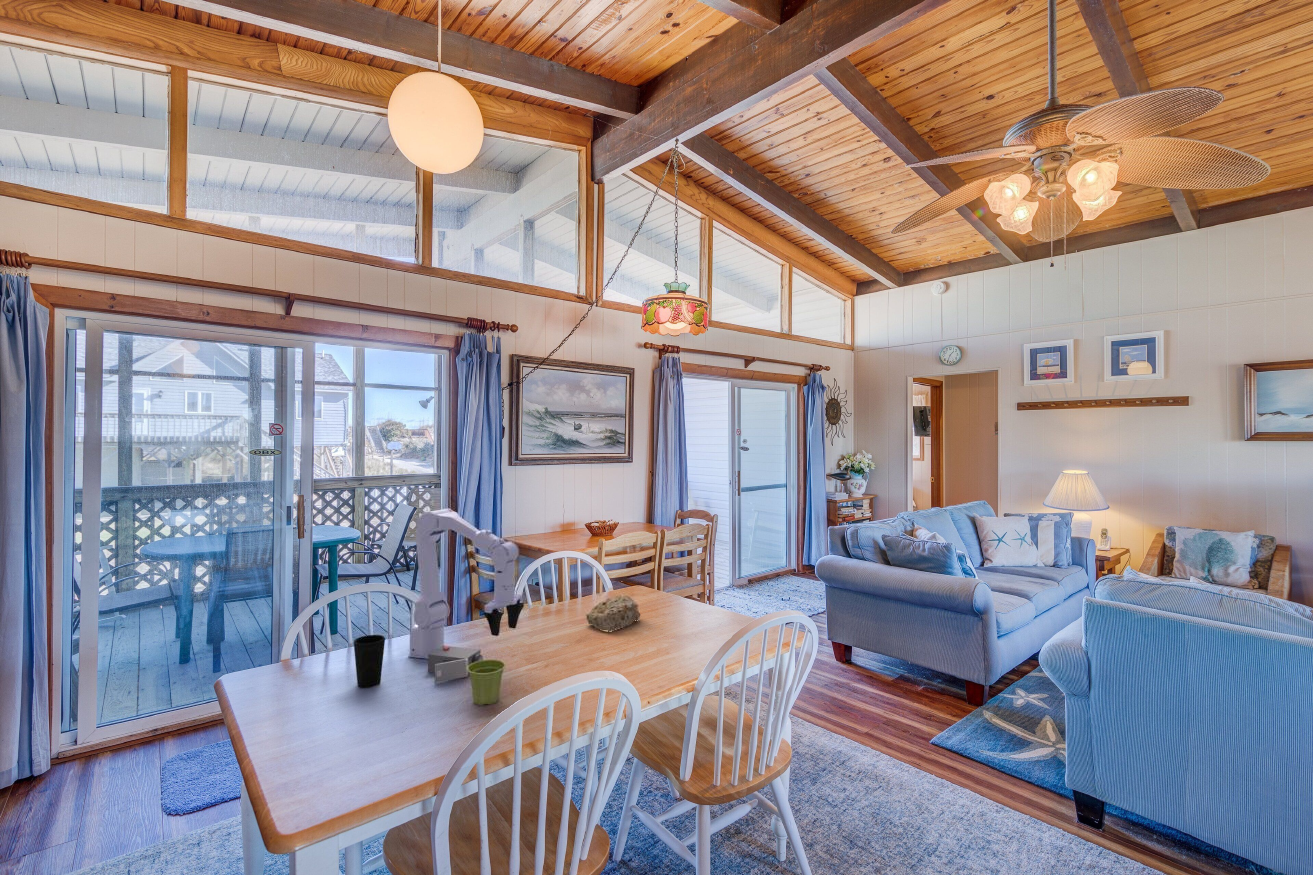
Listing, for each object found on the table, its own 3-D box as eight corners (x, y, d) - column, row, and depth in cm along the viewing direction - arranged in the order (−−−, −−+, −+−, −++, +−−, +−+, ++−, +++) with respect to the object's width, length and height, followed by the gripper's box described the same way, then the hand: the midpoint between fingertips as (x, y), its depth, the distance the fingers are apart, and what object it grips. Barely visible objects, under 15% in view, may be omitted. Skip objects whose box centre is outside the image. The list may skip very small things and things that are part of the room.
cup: (353, 691, 161) (354, 645, 161) (352, 681, 168) (353, 637, 168) (385, 686, 165) (386, 641, 165) (383, 676, 172) (384, 633, 172)
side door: (435, 683, 167) (435, 665, 167) (434, 681, 168) (434, 664, 168) (468, 677, 171) (468, 659, 171) (467, 675, 172) (467, 658, 172)
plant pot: (484, 711, 151) (485, 676, 151) (458, 702, 156) (459, 668, 156) (513, 698, 159) (513, 664, 159) (487, 689, 164) (487, 656, 164)
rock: (615, 638, 210) (608, 608, 210) (584, 639, 218) (577, 611, 218) (650, 617, 227) (643, 590, 227) (620, 619, 235) (613, 593, 235)
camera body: (427, 672, 175) (428, 652, 175) (443, 662, 183) (443, 643, 183) (471, 677, 172) (471, 656, 172) (485, 667, 179) (485, 647, 179)
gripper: (498, 591, 172) (498, 640, 172) (531, 581, 185) (530, 626, 185) (479, 588, 175) (478, 636, 175) (512, 578, 188) (511, 623, 188)
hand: (503, 631), depth 180 cm, fingers open, 7 cm apart
